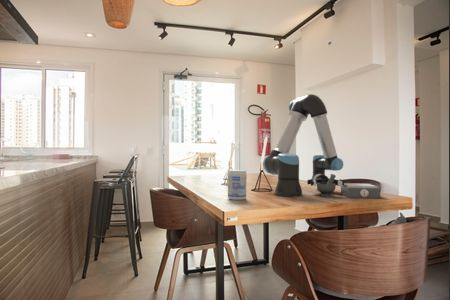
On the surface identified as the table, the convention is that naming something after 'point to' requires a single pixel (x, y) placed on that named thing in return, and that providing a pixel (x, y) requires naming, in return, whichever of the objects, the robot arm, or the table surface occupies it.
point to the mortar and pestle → (327, 187)
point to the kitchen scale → (360, 190)
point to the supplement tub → (237, 184)
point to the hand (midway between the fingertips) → (328, 183)
